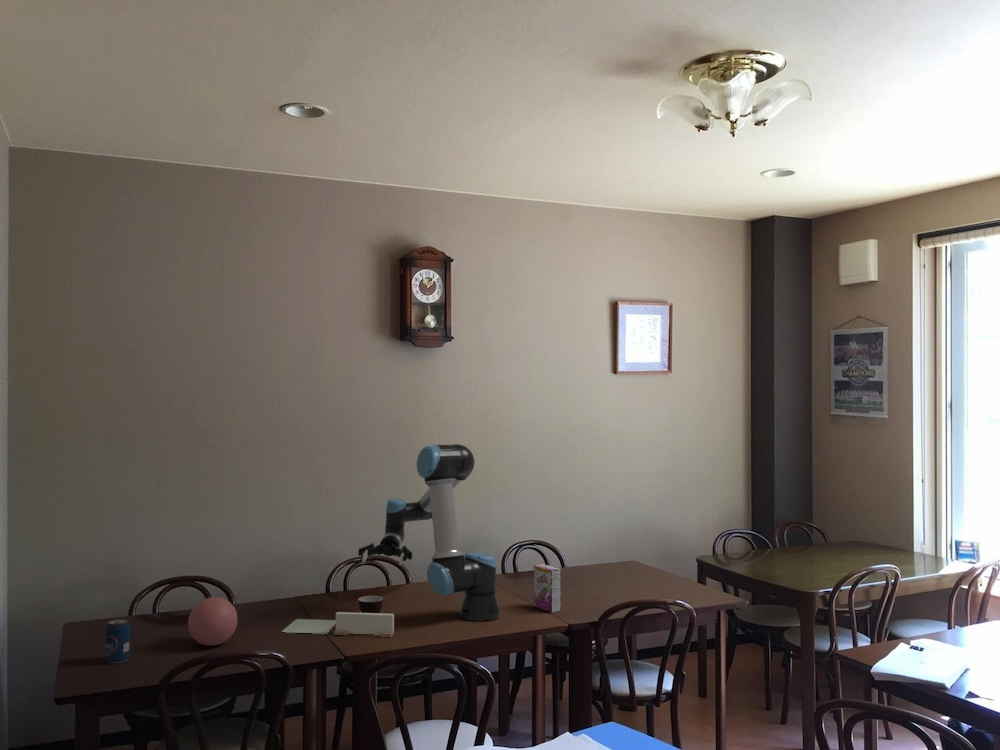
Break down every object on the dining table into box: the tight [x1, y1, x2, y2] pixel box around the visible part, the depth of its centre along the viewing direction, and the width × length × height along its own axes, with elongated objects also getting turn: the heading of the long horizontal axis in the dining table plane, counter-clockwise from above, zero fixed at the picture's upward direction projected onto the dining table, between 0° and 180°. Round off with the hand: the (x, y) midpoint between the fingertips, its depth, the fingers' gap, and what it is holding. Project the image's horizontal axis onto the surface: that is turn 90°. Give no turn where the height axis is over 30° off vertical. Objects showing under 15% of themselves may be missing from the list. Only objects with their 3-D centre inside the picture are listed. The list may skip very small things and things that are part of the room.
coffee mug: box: [357, 595, 384, 613], centre depth 290 cm, size 12×9×10 cm
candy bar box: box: [533, 563, 562, 614], centre depth 314 cm, size 11×5×16 cm, turn 37°
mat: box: [281, 618, 336, 635], centre depth 288 cm, size 16×16×1 cm
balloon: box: [187, 596, 239, 647], centre depth 270 cm, size 15×20×15 cm
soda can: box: [104, 618, 131, 664], centre depth 252 cm, size 7×7×12 cm
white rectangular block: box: [333, 611, 395, 638], centre depth 279 cm, size 20×4×7 cm, turn 85°
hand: (381, 560), depth 297 cm, fingers open, 13 cm apart
